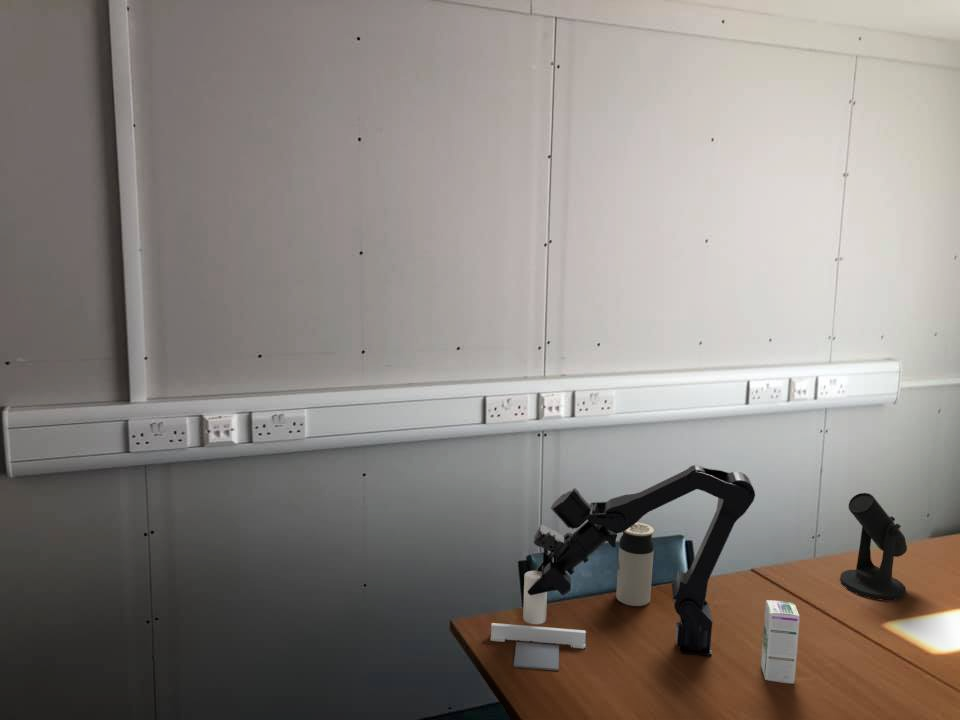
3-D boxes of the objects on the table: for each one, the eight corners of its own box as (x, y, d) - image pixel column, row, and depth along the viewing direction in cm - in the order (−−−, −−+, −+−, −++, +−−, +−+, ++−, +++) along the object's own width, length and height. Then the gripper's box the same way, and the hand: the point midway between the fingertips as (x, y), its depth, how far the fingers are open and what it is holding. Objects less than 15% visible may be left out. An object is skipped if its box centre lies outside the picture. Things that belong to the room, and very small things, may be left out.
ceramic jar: (546, 613, 171) (547, 571, 169) (545, 625, 166) (547, 581, 164) (523, 612, 171) (525, 570, 170) (522, 623, 166) (523, 580, 165)
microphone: (822, 578, 199) (832, 485, 195) (875, 571, 204) (886, 480, 200) (866, 604, 185) (878, 505, 181) (922, 596, 190) (935, 499, 186)
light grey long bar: (584, 641, 165) (585, 628, 164) (585, 648, 162) (585, 635, 161) (491, 633, 167) (492, 620, 166) (490, 640, 164) (491, 627, 163)
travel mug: (654, 597, 185) (659, 526, 183) (642, 610, 179) (647, 537, 176) (623, 588, 190) (628, 519, 187) (610, 601, 183) (615, 529, 180)
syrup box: (795, 684, 151) (802, 615, 148) (763, 680, 152) (770, 612, 150) (789, 668, 156) (796, 602, 154) (759, 664, 157) (765, 598, 155)
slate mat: (558, 647, 162) (559, 645, 162) (558, 670, 153) (558, 668, 153) (516, 643, 163) (516, 641, 163) (513, 666, 154) (513, 665, 154)
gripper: (557, 501, 173) (507, 544, 176) (556, 532, 155) (500, 580, 158) (591, 536, 174) (540, 579, 177) (594, 572, 156) (537, 618, 158)
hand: (529, 587), depth 167 cm, fingers closed on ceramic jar, 5 cm apart
